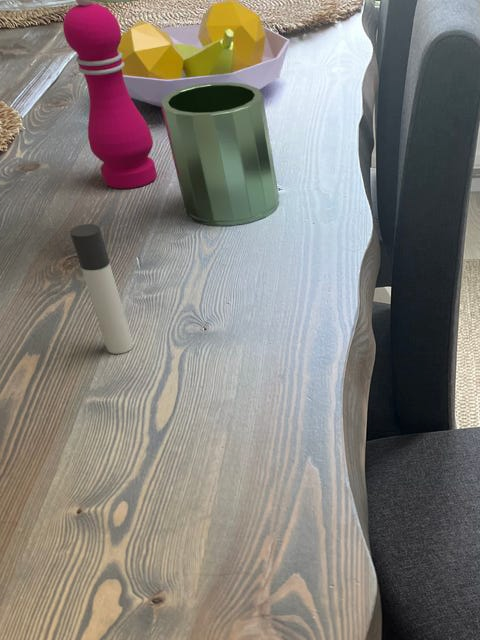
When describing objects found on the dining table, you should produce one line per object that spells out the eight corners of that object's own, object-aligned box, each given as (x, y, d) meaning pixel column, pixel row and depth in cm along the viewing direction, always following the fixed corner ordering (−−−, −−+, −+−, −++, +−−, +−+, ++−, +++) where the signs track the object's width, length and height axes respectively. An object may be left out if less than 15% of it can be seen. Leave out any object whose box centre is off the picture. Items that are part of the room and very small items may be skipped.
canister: (177, 226, 112) (151, 116, 104) (196, 189, 120) (172, 83, 111) (272, 224, 112) (253, 113, 104) (284, 187, 119) (268, 81, 111)
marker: (103, 354, 92) (65, 236, 85) (110, 341, 94) (74, 224, 86) (130, 354, 92) (95, 235, 85) (137, 340, 94) (103, 223, 86)
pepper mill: (130, 195, 119) (78, -1, 105) (87, 183, 122) (31, -9, 107) (173, 174, 123) (129, -17, 109) (131, 164, 126) (82, -24, 112)
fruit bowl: (104, 78, 151) (81, -10, 143) (284, 59, 155) (272, -27, 147) (106, 142, 132) (79, 45, 123) (311, 118, 136) (299, 23, 128)
